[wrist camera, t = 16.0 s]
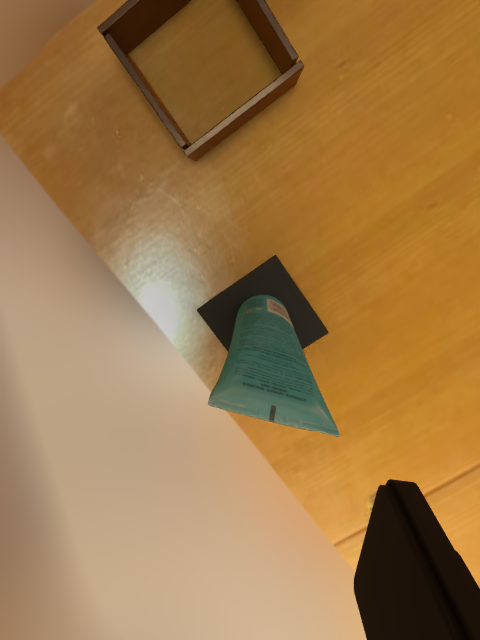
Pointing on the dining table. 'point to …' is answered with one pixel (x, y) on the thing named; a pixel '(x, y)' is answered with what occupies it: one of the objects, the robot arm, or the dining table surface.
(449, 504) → the dining table surface
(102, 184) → the dining table surface
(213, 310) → the mat
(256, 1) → the tube holder
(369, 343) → the dining table surface
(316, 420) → the tube
